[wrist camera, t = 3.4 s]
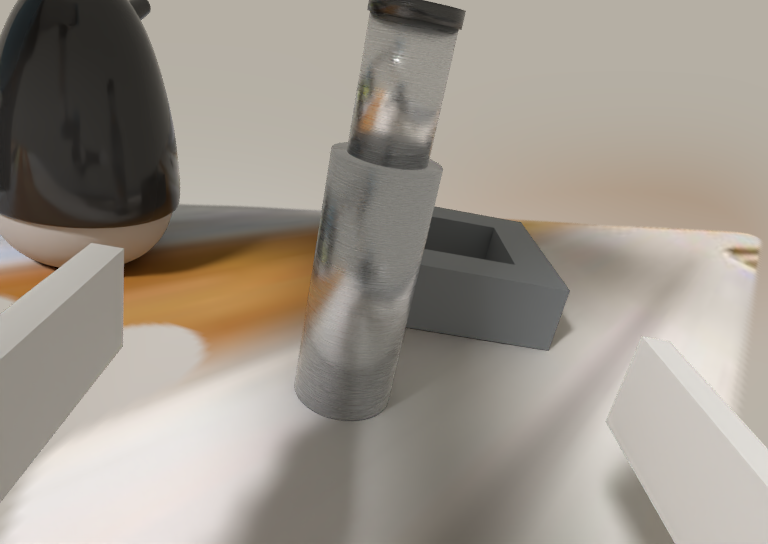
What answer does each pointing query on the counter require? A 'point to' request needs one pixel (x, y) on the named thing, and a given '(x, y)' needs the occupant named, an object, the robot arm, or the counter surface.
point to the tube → (376, 212)
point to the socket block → (486, 282)
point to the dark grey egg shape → (83, 131)
